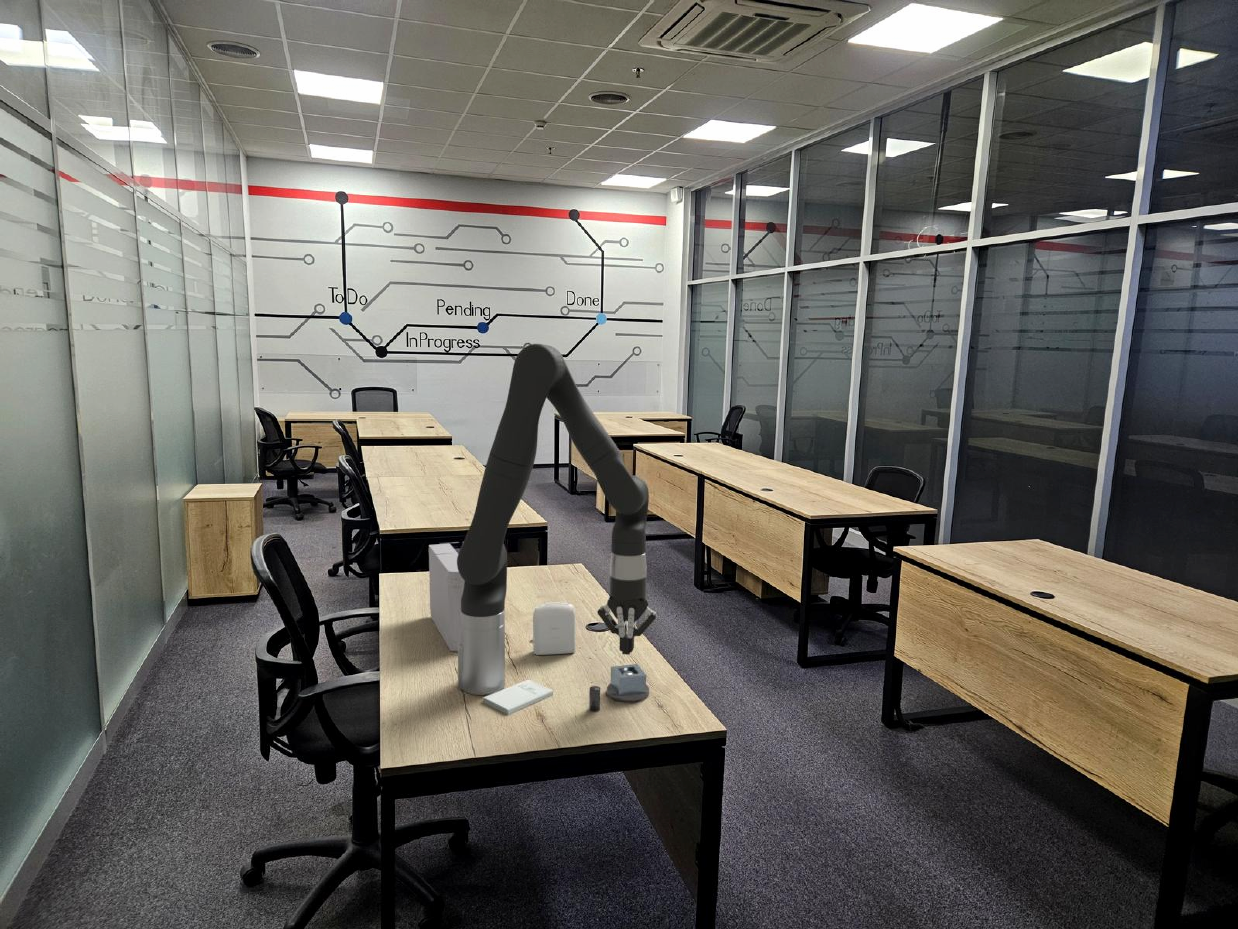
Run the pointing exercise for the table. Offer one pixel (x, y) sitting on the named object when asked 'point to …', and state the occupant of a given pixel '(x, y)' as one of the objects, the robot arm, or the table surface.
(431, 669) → the table surface
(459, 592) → the game console
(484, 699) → the external hard drive
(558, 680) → the table surface
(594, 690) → the stand rod
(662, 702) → the table surface
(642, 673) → the hollow square housing
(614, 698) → the hub
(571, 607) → the photo printer
